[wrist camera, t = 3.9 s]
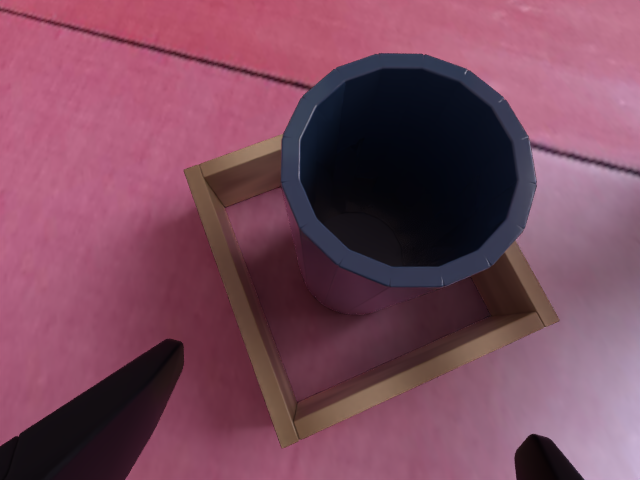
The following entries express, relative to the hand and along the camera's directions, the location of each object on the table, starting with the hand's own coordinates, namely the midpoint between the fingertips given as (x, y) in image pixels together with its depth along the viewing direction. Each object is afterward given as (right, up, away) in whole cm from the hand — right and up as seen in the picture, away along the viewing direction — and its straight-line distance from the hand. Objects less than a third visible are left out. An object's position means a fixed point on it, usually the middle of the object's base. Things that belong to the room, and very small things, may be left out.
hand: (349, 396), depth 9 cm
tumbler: (+1, +3, +12) cm, 13 cm away
